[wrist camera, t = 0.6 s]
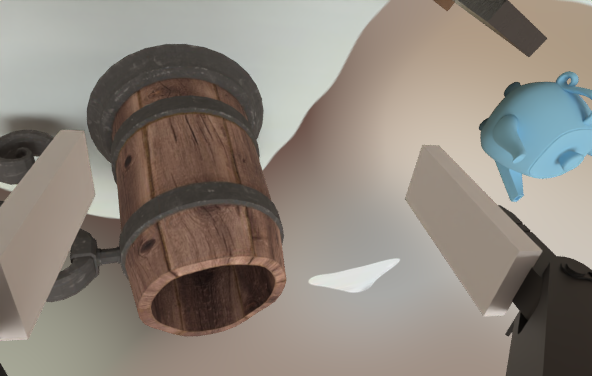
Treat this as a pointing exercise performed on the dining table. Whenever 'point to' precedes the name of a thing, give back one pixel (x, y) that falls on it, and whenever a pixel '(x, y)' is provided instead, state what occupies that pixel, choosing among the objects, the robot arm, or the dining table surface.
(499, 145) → the teapot
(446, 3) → the tube stand
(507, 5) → the grey piece
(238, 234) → the tankard
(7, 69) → the dining table surface
